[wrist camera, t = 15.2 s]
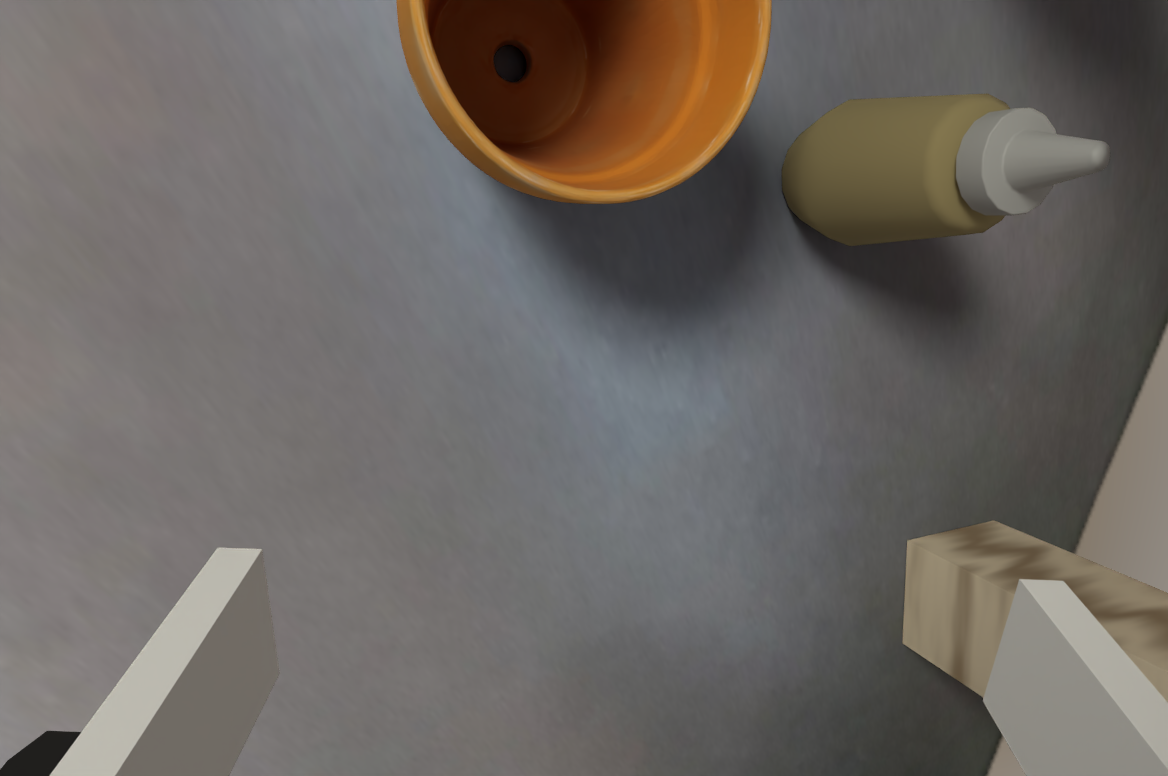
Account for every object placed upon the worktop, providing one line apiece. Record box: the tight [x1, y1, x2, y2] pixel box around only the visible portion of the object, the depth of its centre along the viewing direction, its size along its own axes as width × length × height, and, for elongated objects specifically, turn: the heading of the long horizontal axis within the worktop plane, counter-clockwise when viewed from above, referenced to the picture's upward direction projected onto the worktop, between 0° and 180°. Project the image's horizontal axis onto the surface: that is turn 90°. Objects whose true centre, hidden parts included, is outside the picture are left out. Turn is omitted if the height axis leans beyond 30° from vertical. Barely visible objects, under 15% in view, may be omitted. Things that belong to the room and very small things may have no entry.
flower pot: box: [397, 0, 771, 204], centre depth 35 cm, size 14×14×13 cm
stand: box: [903, 521, 1168, 702], centre depth 45 cm, size 10×10×32 cm
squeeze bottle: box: [782, 94, 1111, 246], centre depth 41 cm, size 8×8×18 cm
